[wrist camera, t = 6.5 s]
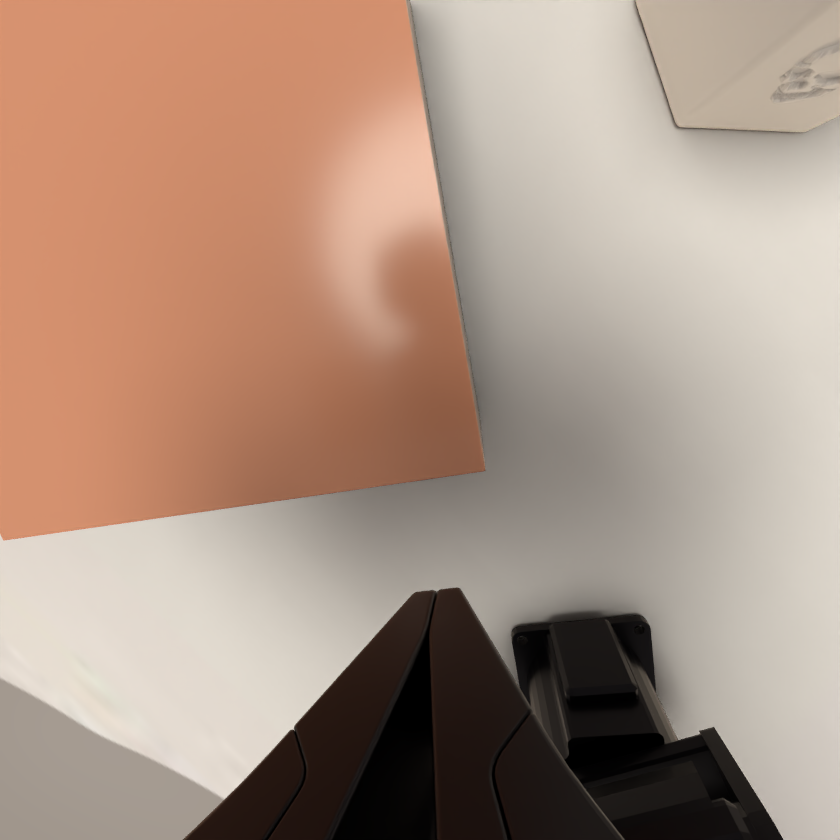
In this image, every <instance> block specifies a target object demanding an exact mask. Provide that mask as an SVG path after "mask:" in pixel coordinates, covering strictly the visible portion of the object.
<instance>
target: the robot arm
mask: <svg viewBox="0 0 840 840" xmlns="http://www.w3.org/2000/svg"><path fill="white" fill-rule="evenodd" d="M638 625H641V627H640V628H638V629H635V627H636V626H638ZM520 636H525V638H524V639H519V638H518V637H520ZM511 637H512V644H513V650H514V656H515V662H516V667H517V673H518V679H519V685H520V688H519V686H518V684H517V683H516V681H515V679H514V678H513V676H512V674H511V673H510V671H509V669H508V668H507V666H506V664H505V663H504V661H503V659H502V658H501V656H500V654H499V652H498V651H497V649H496V647H495V646H494V644H493V642H492V641H491V639H490V637H489V636H488V634H487V632H486V631H485V629H484V627H483V626H482V624H481V622H480V621H479V619H478V617H477V616H476V614H475V612H474V610H473V609H472V607H471V605H470V604H469V602H468V600H467V599H466V597H465V595H464V594H463V592H462V590H461V589H460V588H448V589H441V590H439V591H438V592H436V591H434V590H430V591H421V592H415V593H414V594H412V595H411V597H410V598H409V599H408V600H407V601H406V602H405V603H404V604H403V606H402V607H401V608H400V609H399V610H398V611H397V612H396V613H395V614H394V616H393V617H392V618H391V619H390V620H389V621H388V622H387V623H386V624H385V626H384V627H383V628H382V629H381V630H380V631H379V632H378V633H377V634H376V636H375V637H374V638H373V639H372V640H371V641H370V642H369V643H368V644H367V646H366V647H365V648H364V649H363V650H362V651H361V652H360V653H359V654H358V656H357V657H356V658H355V659H354V660H353V661H352V662H351V663H350V664H349V666H348V667H347V668H346V669H345V670H344V671H343V672H342V673H341V674H340V676H339V677H338V678H337V679H336V680H335V681H334V682H333V683H332V684H331V686H330V687H329V688H328V689H327V690H326V691H325V692H324V693H323V695H322V696H321V697H320V698H319V699H318V700H317V701H316V702H315V703H314V705H313V706H312V707H311V708H310V709H309V710H308V711H307V712H306V713H305V715H304V716H303V717H302V718H301V719H300V720H299V721H298V722H297V723H296V725H295V726H294V730H295V731H294V730H290V731H289V732H288V733H287V734H286V735H285V737H284V738H283V739H282V740H281V741H280V742H279V743H278V744H277V745H276V747H275V748H274V749H273V750H272V751H271V752H270V753H269V754H268V755H267V756H266V757H265V758H264V759H263V761H262V762H261V763H260V764H259V765H258V766H257V767H256V768H255V769H254V770H253V771H252V772H251V773H250V774H249V775H248V776H247V778H246V779H245V780H244V781H243V782H242V783H241V784H240V785H239V786H238V787H237V788H236V789H235V790H234V791H233V792H232V793H231V794H230V795H229V796H228V797H227V798H226V799H225V800H223V801H222V803H220V804H219V805H218V806H217V807H216V808H215V809H214V810H213V811H212V812H211V813H210V814H209V815H208V816H207V817H206V818H205V819H204V820H203V821H202V822H201V823H200V824H199V825H198V826H197V827H196V828H195V829H194V830H193V831H192V832H191V833H189V834H188V836H186V838H184V839H183V840H783V838H782V836H781V835H780V833H779V831H778V829H777V828H776V826H775V824H774V822H773V821H772V819H771V818H770V816H769V814H768V813H767V811H766V809H765V808H764V806H763V805H762V803H761V801H760V800H759V798H758V797H757V795H756V793H755V792H754V790H753V789H752V787H751V785H750V784H749V782H748V781H747V779H746V777H745V776H744V774H743V773H742V771H741V769H740V768H739V766H738V765H737V763H736V761H735V760H734V758H733V757H732V755H731V754H730V752H729V750H728V749H727V747H726V746H725V744H724V742H723V741H722V739H721V738H720V736H719V734H718V733H717V731H716V730H715V728H714V727H712V728H708V729H705V730H701V731H699V732H700V734H699V735H695V736H692V737H688V738H685V739H681V740H678V739H677V737H676V735H675V733H674V730H673V728H672V726H671V724H670V722H669V720H668V718H667V716H666V713H665V711H664V709H663V707H662V705H661V703H660V701H659V699H658V697H657V694H656V687H655V675H654V664H653V652H652V641H651V629H650V626H649V624H648V622H647V620H646V619H645V618H644V617H642V616H638V615H634V616H623V617H613V618H602V619H591V620H581V621H570V622H560V623H549V624H539V625H528V626H519V627H516V628H515V629H513V631H512V633H511Z"/></svg>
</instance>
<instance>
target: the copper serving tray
mask: <svg viewBox="0 0 840 840" xmlns="http://www.w3.org/2000/svg"><path fill="white" fill-rule="evenodd" d="M482 471H485V461H484V454H483V448H482V442H481V436H480V430H479V425H478V419H477V413H476V407H475V401H474V395H473V389H472V383H471V377H470V371H469V365H468V360H467V354H466V348H465V342H464V336H463V330H462V324H461V318H460V312H459V306H458V300H457V295H456V289H455V283H454V277H453V271H452V265H451V259H450V253H449V247H448V241H447V235H446V230H445V224H444V218H443V212H442V206H441V200H440V194H439V188H438V182H437V176H436V171H435V165H434V159H433V153H432V147H431V141H430V135H429V129H428V123H427V117H426V111H425V106H424V100H423V94H422V88H421V82H420V76H419V70H418V64H417V58H416V52H415V46H414V41H413V35H412V29H411V23H410V17H409V11H408V5H407V0H0V534H1V536H2V538H3V540H10V539H17V538H24V537H31V536H38V535H45V534H52V533H59V532H66V531H73V530H79V529H86V528H93V527H100V526H107V525H114V524H121V523H128V522H135V521H142V520H149V519H156V518H163V517H170V516H177V515H184V514H190V513H197V512H204V511H211V510H218V509H225V508H232V507H239V506H246V505H253V504H260V503H267V502H274V501H281V500H288V499H295V498H301V497H308V496H315V495H322V494H329V493H336V492H343V491H350V490H357V489H364V488H371V487H378V486H385V485H392V484H399V483H406V482H412V481H419V480H426V479H433V478H440V477H447V476H454V475H461V474H468V473H475V472H482Z"/></svg>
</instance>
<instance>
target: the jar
mask: <svg viewBox="0 0 840 840" xmlns="http://www.w3.org/2000/svg"><path fill="white" fill-rule="evenodd" d="M635 1H636V5H637V8H638V11H639V14H640V17H641V20H642V23H643V26H644V29H645V32H646V35H647V38H648V41H649V44H650V47H651V50H652V53H653V56H654V59H655V62H656V65H657V68H658V72H659V75H660V78H661V81H662V84H663V87H664V90H665V93H666V96H667V99H668V102H669V105H670V108H671V111H672V114H673V117H674V120H675V123H676V124H677V125H678V126H679V127H690V128H713V129H736V130H759V131H782V132H807V131H809V130H811V129H814V128H816V127H818V126H820V125H822V124H824V123H826V122H828V121H830V120H832V119H834V118H836V117H838V116H840V0H635Z"/></svg>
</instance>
